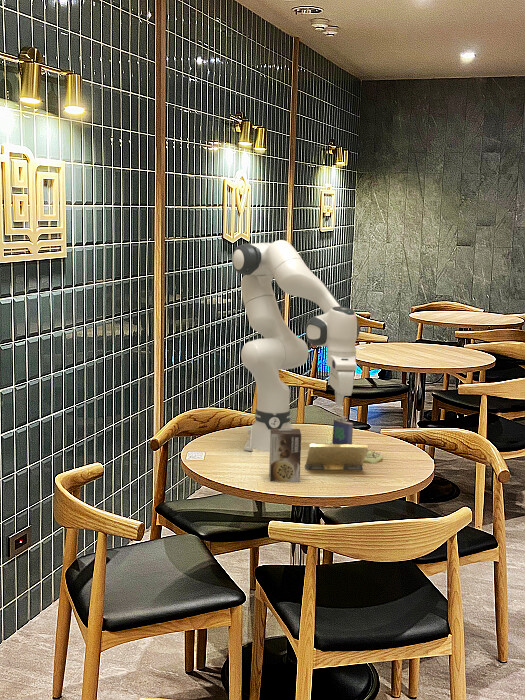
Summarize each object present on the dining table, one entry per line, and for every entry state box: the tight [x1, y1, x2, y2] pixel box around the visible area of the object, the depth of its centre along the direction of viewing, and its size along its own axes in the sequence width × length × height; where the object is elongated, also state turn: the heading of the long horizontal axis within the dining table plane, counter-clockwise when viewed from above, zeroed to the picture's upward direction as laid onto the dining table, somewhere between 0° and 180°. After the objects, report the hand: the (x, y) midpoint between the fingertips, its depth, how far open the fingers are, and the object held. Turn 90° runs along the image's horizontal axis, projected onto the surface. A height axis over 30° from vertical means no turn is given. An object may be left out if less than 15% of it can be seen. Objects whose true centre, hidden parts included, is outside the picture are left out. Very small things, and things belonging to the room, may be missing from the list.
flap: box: [305, 443, 369, 471], centre depth 258 cm, size 13×18×2 cm
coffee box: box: [268, 428, 302, 483], centre depth 248 cm, size 9×6×16 cm
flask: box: [331, 415, 354, 445], centre depth 296 cm, size 9×3×11 cm, turn 37°
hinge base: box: [304, 463, 363, 471], centre depth 257 cm, size 13×18×2 cm
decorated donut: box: [363, 450, 384, 464], centre depth 275 cm, size 10×11×4 cm
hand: (339, 404), depth 256 cm, fingers closed
